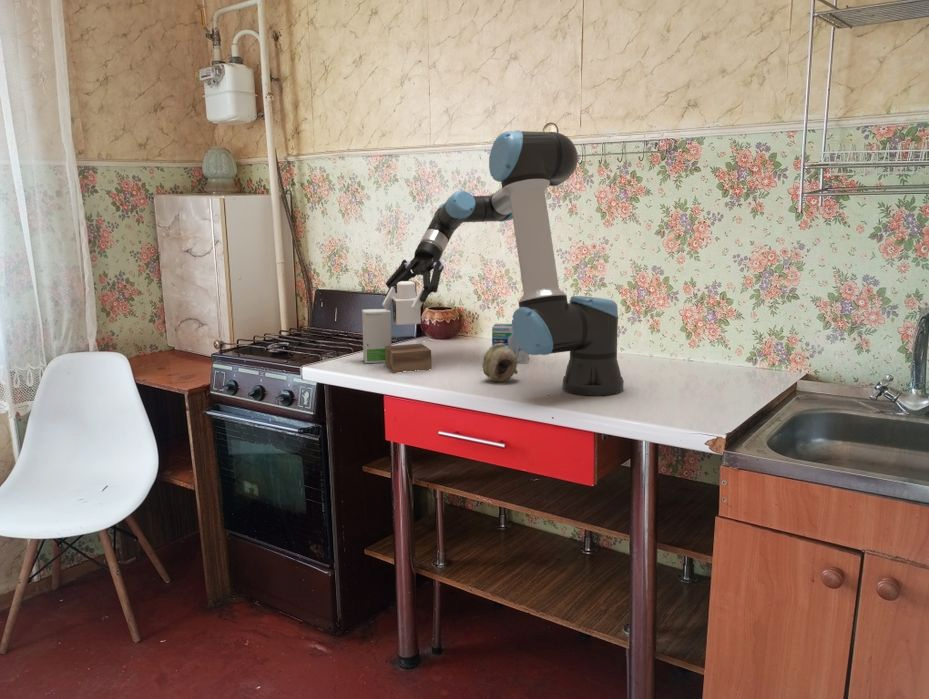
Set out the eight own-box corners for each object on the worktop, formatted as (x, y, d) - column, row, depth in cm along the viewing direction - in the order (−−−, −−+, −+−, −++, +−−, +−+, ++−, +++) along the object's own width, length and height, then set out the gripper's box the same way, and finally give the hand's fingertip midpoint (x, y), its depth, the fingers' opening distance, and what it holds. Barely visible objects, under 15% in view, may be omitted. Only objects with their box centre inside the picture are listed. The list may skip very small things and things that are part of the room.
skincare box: (365, 364, 223) (362, 312, 220) (363, 359, 229) (360, 309, 226) (393, 362, 225) (391, 310, 222) (390, 357, 231) (388, 307, 228)
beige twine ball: (476, 380, 200) (476, 344, 198) (498, 375, 206) (497, 339, 204) (503, 386, 193) (502, 348, 191) (524, 380, 199) (524, 343, 197)
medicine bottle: (393, 321, 218) (391, 280, 215) (417, 320, 219) (416, 279, 217) (396, 325, 211) (394, 282, 208) (421, 324, 212) (419, 281, 210)
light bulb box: (491, 362, 222) (491, 326, 219) (494, 358, 228) (494, 323, 226) (527, 363, 220) (527, 327, 218) (529, 358, 226) (529, 323, 224)
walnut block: (431, 370, 214) (431, 350, 213) (393, 374, 211) (392, 353, 209) (422, 363, 224) (421, 343, 223) (385, 366, 221) (385, 346, 220)
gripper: (467, 258, 218) (437, 319, 208) (406, 256, 230) (375, 314, 220) (457, 240, 212) (425, 303, 203) (395, 239, 225) (362, 298, 215)
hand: (399, 308), depth 211 cm, fingers closed on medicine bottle, 10 cm apart
